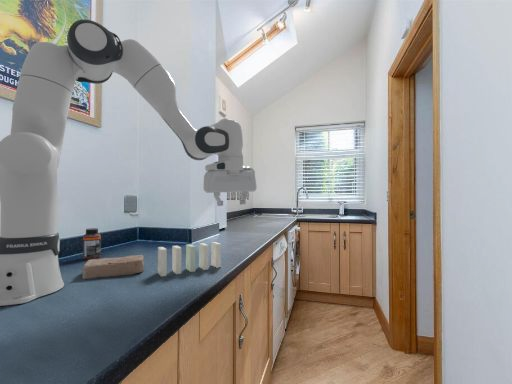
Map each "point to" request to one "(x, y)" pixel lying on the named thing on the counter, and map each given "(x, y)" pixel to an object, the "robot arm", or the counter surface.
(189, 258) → the pale green domino
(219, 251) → the domino
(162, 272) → the domino
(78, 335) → the counter surface
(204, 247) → the domino
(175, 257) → the domino
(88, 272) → the brick
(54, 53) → the robot arm
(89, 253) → the supplement bottle
